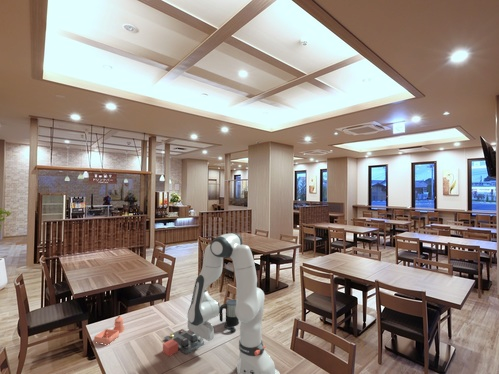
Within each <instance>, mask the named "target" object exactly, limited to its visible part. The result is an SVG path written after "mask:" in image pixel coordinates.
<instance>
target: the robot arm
mask: <svg viewBox="0 0 499 374" xmlns="http://www.w3.org/2000/svg"><path fill="white" fill-rule="evenodd" d="M202 259H203V260H202V266H201V267H202V268H201V270H200V273H199V274H198V276H197V277H196V280H195V282H194V288H193V292H192V296H191V301H190V302H191V303H190V306H189V308H188V311H187V329H188V330H189V331H191V332H192V333H195V334H196V336H197V339H198V342H199V343H203V341H204V340H206V341H207V342H211V341H213V340H214V338H215V332H214V330H215V329H214V327H213V325H212V323H211V322H210V320H212V319H213V318H214V319H215V318H216V317H218V316H219V312H220V306H221V305H220V302H219V301H218V300H216V299H215V298H213V297H212V296H211V295H210V294H209V291H208V290H207V289H208V287H209V286H210V285H211V284H213V283H214V282H216V281H218V279H219V278H220V277H221V275H222V272H223V265H224V259H227V260H228V259H231V261H232V263H233V270H234V275H235V282H236V283H235V284H236V298H235V300H236V309H235V314H236V317H237V318H238V319H239V322H240V325H239V342H238V349H239V353H238V354H239V355H238V361H237V366H236V373H237V374H281V373H280V371H279V370H278V369H276V366H275V362H274V360H273V359H272V356H270V354H268V353H267V351H266V350H265V348H266V344H263V340H262V325H263V318H264V317H263V316H264V307H265V299H266V298H265V297H266V295H265V292H264V290H262V289H261V288H260V287H258V276H257V270H256V269H257V268H256V266H255V265H256V264H255V260H254V256H253V253H252V249H251V248H250V246H249V245H246V244H243V237H242V236H241V235H240V234H238V233H237V232H229V233H224V234H221V235H219V236H216V237H215V238H213V239H212V241H211V242H210V244H208V245H207V246H206V247H205V249H204V254H203V258H202Z"/></svg>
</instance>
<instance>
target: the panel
mask: <svg viewBox="0 0 499 374" xmlns="http://www.w3.org/2000/svg"><path fill="white" fill-rule="evenodd" d="M191 334H192V333H190V332H188V331H187V330H186V329H183V328H181V329H179V330H177V331H175V332H173V333H170V334H169V335H166V336H165V337H164V338H163V339H164V341H165V342H167V341H169V340H171V339H173V340H174V341H176V342H177V343H178V351H179V352H181V353H183V354H184V355H188V354H189V353H191V352H193V351H195V350H197V349H198V348H200V347H202V346H204V345H205V341H204V340H203V343H199V342H198V339H197V340H196V341H194V342H193V341H191V340H190V335H191ZM185 337H186V338H187V339H189V345H187V346H185V347H184V346H182V345H181V339H183V338H185Z"/></svg>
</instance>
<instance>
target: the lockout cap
mask: <svg viewBox="0 0 499 374" xmlns="http://www.w3.org/2000/svg"><path fill="white" fill-rule="evenodd" d="M162 352H163V353H164V354H165V355H167V356H168V357H170V356H172V355H174V354H175V353H177V352H179V350H178V343H177V342H176V341H174V340H173V339H171V340H169V341H165V342H163V343H162Z"/></svg>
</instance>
